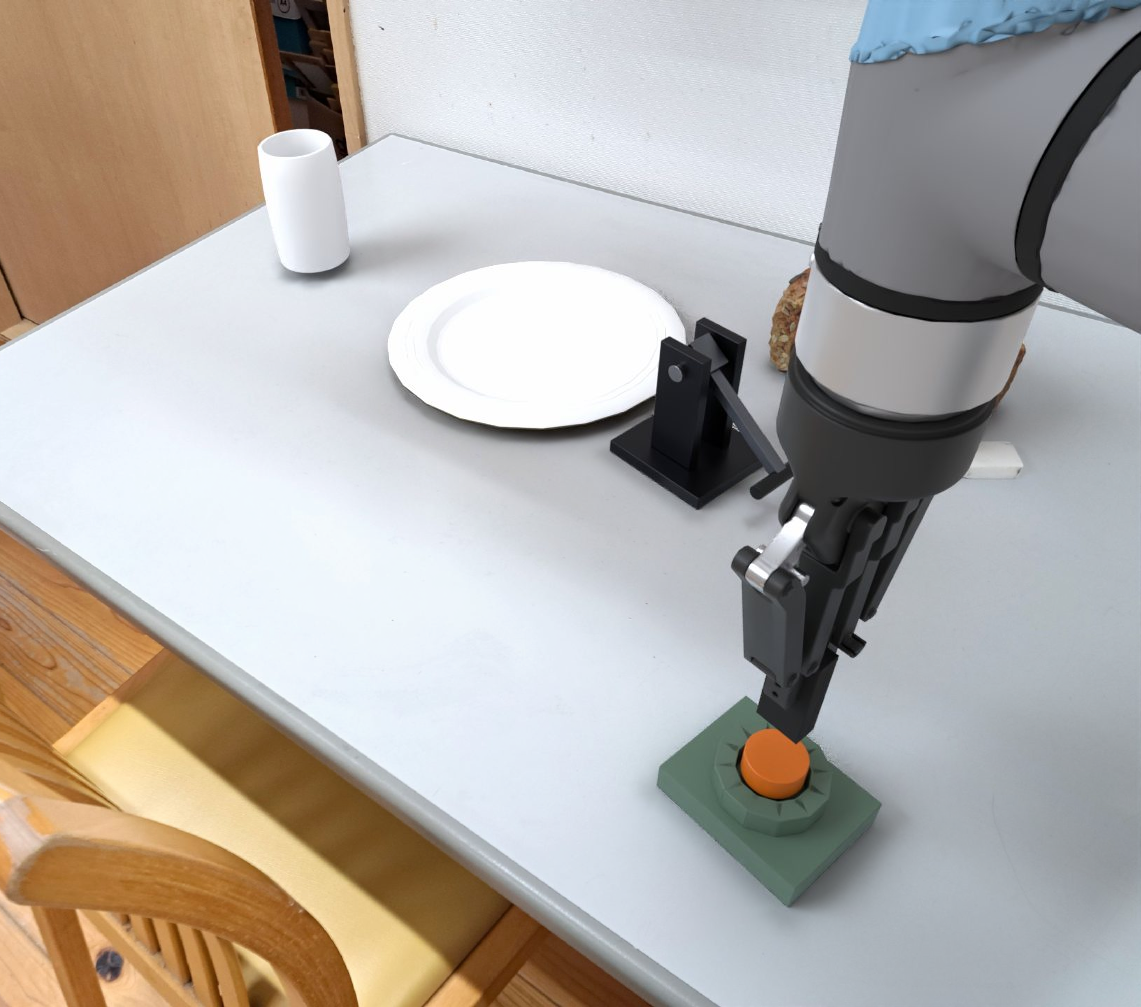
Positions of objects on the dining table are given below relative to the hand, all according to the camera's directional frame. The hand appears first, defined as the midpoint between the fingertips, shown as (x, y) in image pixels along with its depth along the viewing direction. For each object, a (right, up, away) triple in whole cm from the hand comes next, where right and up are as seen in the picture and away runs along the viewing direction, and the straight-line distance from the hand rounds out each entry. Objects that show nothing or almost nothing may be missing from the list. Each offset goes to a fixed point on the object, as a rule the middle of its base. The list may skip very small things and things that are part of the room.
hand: (784, 720), depth 52 cm
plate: (-11, +27, +43) cm, 52 cm away
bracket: (+2, +16, +30) cm, 34 cm away
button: (0, -4, +3) cm, 5 cm away
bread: (+20, +22, +35) cm, 46 cm away
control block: (+1, -6, +6) cm, 9 cm away
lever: (+3, +19, +23) cm, 30 cm away
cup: (-35, +39, +58) cm, 78 cm away
